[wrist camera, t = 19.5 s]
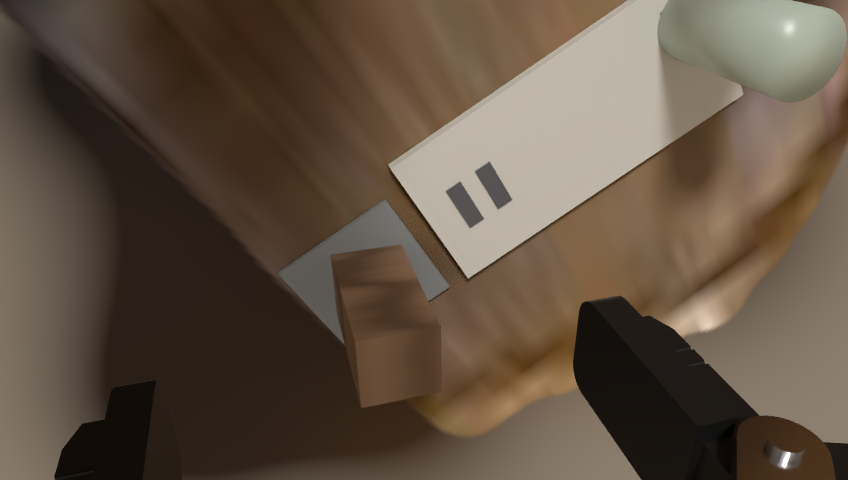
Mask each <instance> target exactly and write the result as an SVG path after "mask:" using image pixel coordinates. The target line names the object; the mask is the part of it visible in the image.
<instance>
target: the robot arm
mask: <svg viewBox="0 0 848 480" xmlns="http://www.w3.org/2000/svg"><path fill="white" fill-rule="evenodd" d="M573 369H574V375H575V379H576V382H577V385H578V387H579V389H580V391H581V393H582V394H583V396H584V397H585V399H586V400H587V401H588V403H589V405H590V406H591V407H592V409H593V410H594V412H595V413H596V415H597V416H598V417H599V419H600V420H601V422H602V423H603V424H604V426H605V427H606V429H607V430H608V432H609V433H610V434H611V436H612V437H613V439H614V441H615V442H616V443H617V445H618V446H619V448H620V449H621V450H622V452H623V453H624V455H625V456H626V458H627V459H628V461H629V462H630V464H631V465H632V466H633V468H634V469H635V471H636V472H637V474H638V475H639V477H640V478H641V479H642V480H848V444H845V443H826V442H823V441H822V440H821V439H820V438H819V437H818V436H816V435H815V434H814V433H813V432H811V431H810V430H808V429H806V428H805V427H804V426H801V425H800V424H798V423H795V422H793V421H790V420H788V419H784V418H780V417H775V416H759V415H758V414H757V413H756V412H755V411H754V410H753V409H752V408H751V407H750V406H749V405H748V404H747V403H746V402H745V401H744V400H743V399H742V398H741V397H740V396H739V395H738V394H737V393H736V392H735V391H734V390H733V389H732V388H731V387H730V386H729V385H728V383H726V382H725V380H723V378H722V377H721V376H720V375H718V373H717V372H716V371H715V370H714V369H713V368H712V367H711V366H709V364H705V363H704V360H703V358H702V357H701V356H700V355H699V354H698V353H697V352H696V351H695V350H691V348H690V345H689V344H688V343H687V342H686V341H685V340H684V339H683V338H682V337H681V336H680V335H679V334H678V333H677V332H676V331H675V330H674V329H673V328H671V327H669V326H667V325H665V324H663V323H662V322H660V321H658V320H656V319H654V318H653V317H651V316H645V317H642V316H641V315H640V314H639V313H638V312H637V311H636V310H635V309H634V308H633V307H632V306H631V305H630V303H629V302H628V301H627V300H626V299H625V298H623V297H622V296H614V297H608V298H603V299H597V300H591V301H586V302H583V303H582V305H581V307H580V310H579V317H578V326H577V334H576V342H575V350H574V358H573ZM54 477H55V480H182V458H181V451H180V445H179V441H178V437H177V434H176V430H175V427H174V423H173V420H172V416H171V413H170V409H169V405H168V402H167V399H166V395H165V391H164V388H163V385H162V383H161V381H160V380H159V379H157V380H151V381H146V382H140V383H134V384H129V385H123V386H118V387H114V388H113V389H112V391H111V393H110V398H109V402H108V407H107V412H106V416H105V420H100V421H95V422H89V423H84V424H82V425H81V426H80V427H79V429H78V430H77V431H76V432H75V434H74V435H73V436H72V437H71V439H70V440H69V441H68V443H67V444H66V445H65V446H64V448H63V449H62V451H61V455H60V459H59V462H58V466H57V469H56V473H55V476H54Z"/></svg>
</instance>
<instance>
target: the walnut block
mask: <svg viewBox="0 0 848 480" xmlns="http://www.w3.org/2000/svg"><path fill="white" fill-rule="evenodd" d="M331 264H332V273H333V283H334V292H335V302H336V311H337V316H338V320H339V324H340V328H341V332H342V336H343V340H344V344H345V347H346V351H347V355H348V359H349V363H350V367H351V371H352V375H353V378H354V382H355V386H356V390H357V394H358V398H359V402H360V405H361V408H364V407H369V406H374V405H380V404H384V403H389V402H394V401H399V400H404V399H409V398H414V397H419V396H424V395H429V394H434V393H439V392H441V326H440V324H439V322H438V320H437V318H436V316H435V314H434V312H433V310H432V308H431V306H430V303H429V301H428V299H427V297H426V295H425V293H424V291H423V289H422V287H421V285H420V283H419V281H418V279H417V276H416V274H415V272H414V270H413V268H412V266H411V264H410V262H409V260H408V258H407V256H406V254H405V252H404V249H403V247H402V245H401V244H399V245H392V246H386V247H379V248H372V249H366V250H359V251H352V252H346V253H339V254H332V255H331Z"/></svg>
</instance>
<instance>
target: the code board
mask: <svg viewBox="0 0 848 480" xmlns="http://www.w3.org/2000/svg"><path fill="white" fill-rule="evenodd" d="M668 1H669V0H627V1H626V2H624V3H623V4H621V5H620V6H618V7H617V8H616V9H614V10H613V11H611V12H610V13H608V14H607V15H605V16H604V17H602V18H601V19H599V20H598V21H597V22H595V23H594V24H592V25H591V26H589V27H588V28H586V29H585V30H583V31H582V32H581V33H579V34H578V35H576V36H575V37H573V38H572V39H570V40H569V41H567V42H566V43H564V44H563V45H562V46H560V47H559V48H557V49H556V50H554V51H553V52H551V53H550V54H548V55H547V56H546V57H544V58H543V59H541V60H540V61H538V62H537V63H535V64H534V65H532V66H531V67H530V68H528V69H527V70H525V71H524V72H522V73H521V74H519V75H518V76H516V77H515V78H513V79H512V80H511V81H509V82H508V83H506V84H505V85H503V86H502V87H500V88H499V89H497V90H496V91H495V92H493V93H492V94H490V95H489V96H487V97H486V98H484V99H483V100H481V101H480V102H478V103H477V104H476V105H474V106H473V107H471V108H470V109H468V110H467V111H465V112H464V113H462V114H461V115H460V116H458V117H457V118H455V119H454V120H452V121H451V122H449V123H448V124H446V125H445V126H444V127H442V128H441V129H439V130H438V131H436V132H435V133H433V134H432V135H430V136H429V137H427V138H426V139H425V140H423V141H422V142H420V143H419V144H417V145H416V146H414V147H413V148H411V149H410V150H409V151H407V152H406V153H404V154H403V155H401V156H400V157H398V158H397V159H395V160H394V161H392V162H391V163H390V164H388V166H389V167H390V169H391V171H392V172H393V173H394V175H395V176H396V178H397V179H398V180H399V182H400V183H401V185H402V186H403V187H404V189H405V190H406V192H407V193H408V194H409V196H410V197H411V199H412V200H413V202H414V203H415V204H416V206H417V207H418V209H419V210H420V211H421V213H422V214H423V216H424V217H425V218H426V220H427V221H428V223H429V224H430V225H431V227H432V228H433V230H434V231H435V233H436V234H437V235H438V237H439V238H440V240H441V241H442V242H443V244H444V245H445V247H446V248H447V249H448V251H449V252H450V254H451V255H452V256H453V258H454V259H455V261H456V262H457V264H458V265H459V266H460V268H461V269H462V271H463V272H464V273H465V275H466V276H467V278H470V277H471V276H473V275H474V274H476V273H477V272H479V271H480V270H482V269H483V268H485V267H486V266H488V265H489V264H491V263H492V262H494V261H495V260H497V259H498V258H500V257H501V256H503V255H504V254H506V253H507V252H509V251H510V250H512V249H513V248H515V247H516V246H518V245H519V244H521V243H522V242H524V241H525V240H527V239H528V238H530V237H531V236H533V235H534V234H536V233H537V232H539V231H540V230H542V229H543V228H545V227H546V226H548V225H549V224H551V223H552V222H554V221H555V220H557V219H558V218H560V217H561V216H563V215H564V214H565V213H567V212H568V211H570V210H571V209H573V208H574V207H576V206H577V205H579V204H580V203H582V202H583V201H585V200H586V199H588V198H589V197H591V196H592V195H594V194H595V193H597V192H598V191H600V190H601V189H603V188H604V187H606V186H607V185H609V184H610V183H612V182H613V181H615V180H616V179H618V178H619V177H621V176H622V175H624V174H625V173H627V172H628V171H630V170H631V169H633V168H634V167H636V166H637V165H639V164H640V163H642V162H643V161H645V160H646V159H648V158H649V157H651V156H652V155H654V154H655V153H657V152H658V151H660V150H661V149H663V148H664V147H666V146H667V145H669V144H670V143H672V142H673V141H675V140H676V139H678V138H679V137H681V136H682V135H684V134H685V133H687V132H688V131H690V130H691V129H693V128H694V127H696V126H697V125H699V124H700V123H702V122H703V121H705V120H706V119H708V118H709V117H711V116H712V115H714V114H715V113H717V112H718V111H720V110H721V109H723V108H724V107H726V106H727V105H729V104H730V103H732V102H733V101H735V100H736V99H738V98H739V97H741V96H742V95H744V94H743V91H742V87H741V85H740V84H738V83H735V82H733V81H730V80H728V79H725V78H723V77H720V76H718V75H715V74H713V73H710V72H708V71H705V70H703V69H700V68H698V67H695V66H693V65H690V64H688V63H685V62H683V61H680V60H678V59H675V58H673V57H671V56H669V55H668V54H667V53H666V52H665V51H664V50H663V48H662V46H661V44H660V41H659V36H658V26H659V20H660V17H661V13H662V11H663V9H664V7H665V5H666V3H667V2H668Z"/></svg>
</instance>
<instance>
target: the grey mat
mask: <svg viewBox="0 0 848 480" xmlns="http://www.w3.org/2000/svg"><path fill="white" fill-rule="evenodd" d="M399 244H401V245H402V247H403V249H404V252H405V254H406V256H407V258H408V260H409V262H410V264H411V266H412V268H413V270H414V272H415V274H416V276H417V279H418V281H419V283H420V285H421V287H422V289H423V291H424V293H425V295H426V297H427V299H428V301H429V300H431V299H432V298H434V297H435V296H437V295H438V294H440V293H441V292H443V291H444V290H446V289H447V288H449V287H450V286H449V284H448V283H447V282H446V280H445V279H444V277H443V276H442V275H441V273H440V272H439V271H438V269H437V268H436V267H435V265H434V264H433V263H432V261H431V260H430V259H429V257H428V256H427V255H426V253H425V252H424V250H423V249H422V248H421V246H420V245H419V244H418V242H417V241H416V240H415V238H414V237H413V236H412V234H411V233H410V232H409V230H408V229H407V227H406V226H405V225H404V223H403V222H402V221H401V219H400V218H399V217H398V215H397V214H396V213H395V211H394V210H393V209H392V207H391V206H390V204H389V203H388V202H387V200H386V199H384V200H383V201H381V202H380V203H378V204H377V205H376V206H374V207H373V208H371V209H370V210H368V211H367V212H365V213H364V214H362V215H361V216H359V217H358V218H356V219H355V220H354V221H352V222H351V223H349V224H348V225H346V226H345V227H343V228H342V229H340V230H339V231H337V232H336V233H335V234H333V235H332V236H330V237H329V238H327V239H326V240H324V241H323V242H321V243H320V244H318V245H317V246H315V247H314V248H313V249H311V250H310V251H308V252H307V253H305V254H304V255H302V256H301V257H299V258H298V259H296V260H295V261H293V262H292V263H291V264H289V265H288V266H286V267H285V268H283V269H282V270H280V271H279V272H278V275H279V276H280V277H281V278H282V279H283V280H284V281H285V283H286V284H287V285H288V286H289V287H290V288H291V289H292V290H293V291H294V292H295V293H296V294H297V295H298V296H299V297H300V298H301V299H302V301H303V302H304V303H305V304H306V305H307V306H308V307H309V308H310V309H311V310H312V311H313V312H314V313H315V314H316V315H317V316H318V317H319V319H320V320H321V321H322V322H323V323H324V324H325V325H326V326H327V327H328V328H329V329H330V330H331V331H332V332H333V333H334V334H335V335H336V337H337V338H338V339H339V340H340V341H341V342H342V343H343V344H344V340H343V336H342V332H341V328H340V324H339V320H338V316H337V311H336V302H335V292H334V283H333V273H332V264H331V255H332V254H339V253H346V252H352V251H359V250H366V249H372V248H379V247H386V246H392V245H399ZM344 345H345V344H344Z"/></svg>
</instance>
